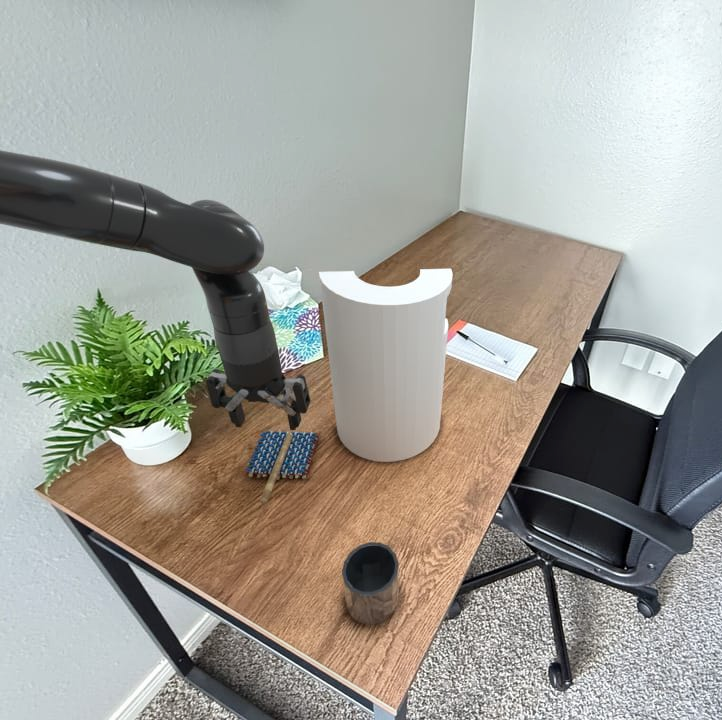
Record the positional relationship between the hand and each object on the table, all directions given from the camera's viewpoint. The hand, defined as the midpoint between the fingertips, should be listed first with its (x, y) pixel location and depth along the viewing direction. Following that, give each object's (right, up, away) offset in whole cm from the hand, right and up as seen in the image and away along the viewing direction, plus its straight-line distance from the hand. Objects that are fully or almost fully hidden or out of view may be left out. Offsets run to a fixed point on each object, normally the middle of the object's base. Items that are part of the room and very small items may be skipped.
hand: (267, 425), depth 76 cm
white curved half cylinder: (+17, -5, +17) cm, 25 cm away
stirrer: (-1, -8, +5) cm, 10 cm away
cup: (+19, -25, -8) cm, 32 cm away
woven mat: (-1, -8, +10) cm, 13 cm away
